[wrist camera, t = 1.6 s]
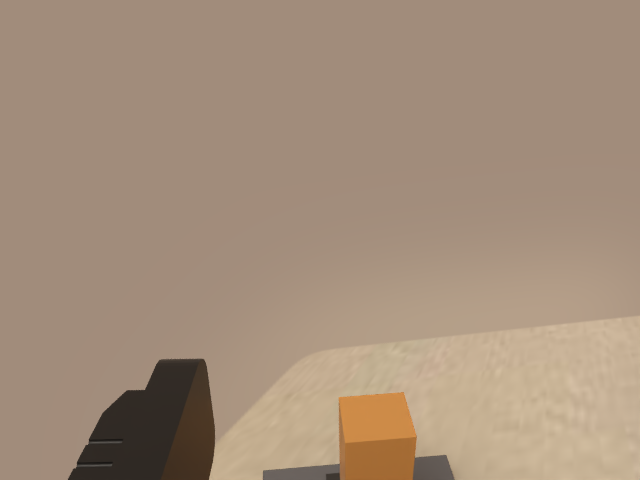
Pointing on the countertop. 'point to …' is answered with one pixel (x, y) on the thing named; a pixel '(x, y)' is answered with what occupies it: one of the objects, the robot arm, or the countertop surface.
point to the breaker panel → (427, 475)
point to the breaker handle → (376, 438)
